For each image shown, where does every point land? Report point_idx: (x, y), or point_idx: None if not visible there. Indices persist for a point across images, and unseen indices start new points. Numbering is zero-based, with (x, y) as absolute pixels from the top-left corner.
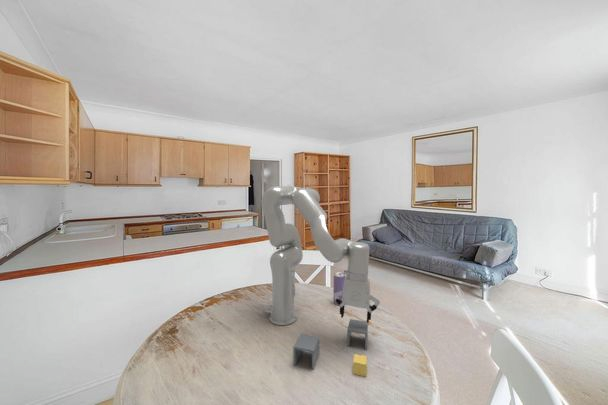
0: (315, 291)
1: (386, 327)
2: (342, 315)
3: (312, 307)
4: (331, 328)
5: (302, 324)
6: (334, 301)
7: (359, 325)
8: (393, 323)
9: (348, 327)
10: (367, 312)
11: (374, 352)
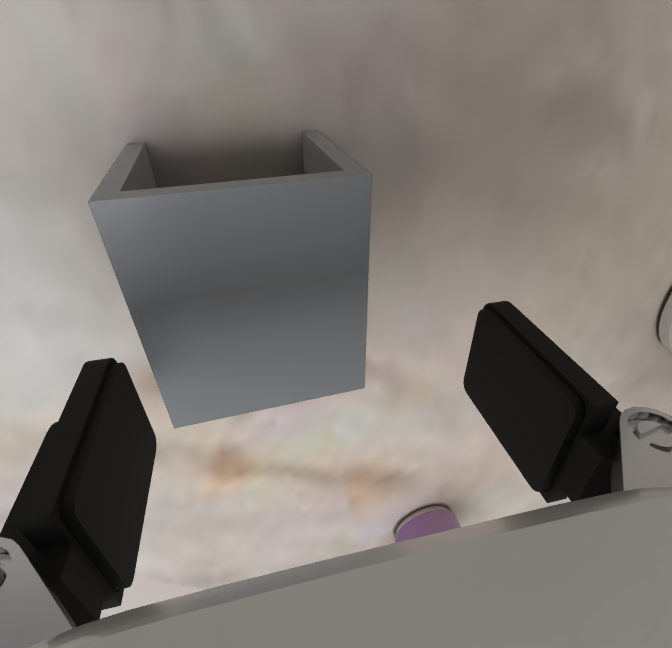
0: None
1: None
2: (505, 322)
3: None
4: (457, 310)
5: (637, 270)
6: (454, 519)
7: (244, 328)
8: None
9: (364, 235)
10: (75, 523)
11: (35, 135)
